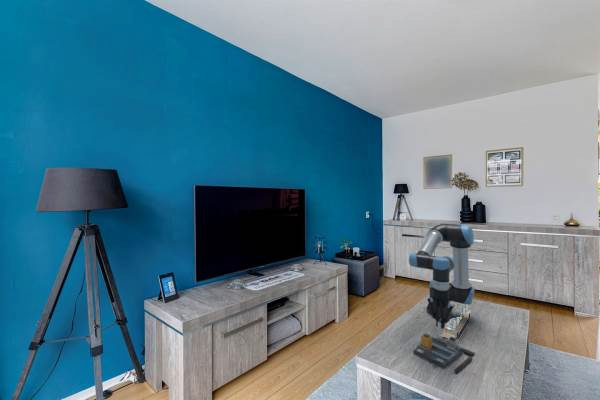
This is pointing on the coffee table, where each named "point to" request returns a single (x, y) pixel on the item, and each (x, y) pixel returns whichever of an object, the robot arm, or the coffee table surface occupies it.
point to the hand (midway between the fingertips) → (440, 333)
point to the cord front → (463, 350)
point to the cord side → (462, 364)
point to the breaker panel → (440, 351)
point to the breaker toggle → (426, 341)
